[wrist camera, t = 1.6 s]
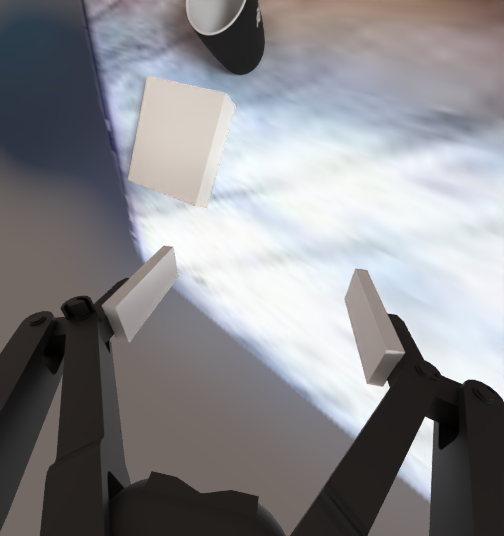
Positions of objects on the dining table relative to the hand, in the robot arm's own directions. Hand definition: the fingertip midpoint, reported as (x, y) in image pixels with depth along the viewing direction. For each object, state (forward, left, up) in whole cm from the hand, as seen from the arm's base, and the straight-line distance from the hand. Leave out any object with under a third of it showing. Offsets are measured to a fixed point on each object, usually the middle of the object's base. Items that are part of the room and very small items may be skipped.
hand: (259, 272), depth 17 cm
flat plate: (-10, -28, -24) cm, 38 cm away
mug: (-28, -22, -24) cm, 43 cm away
